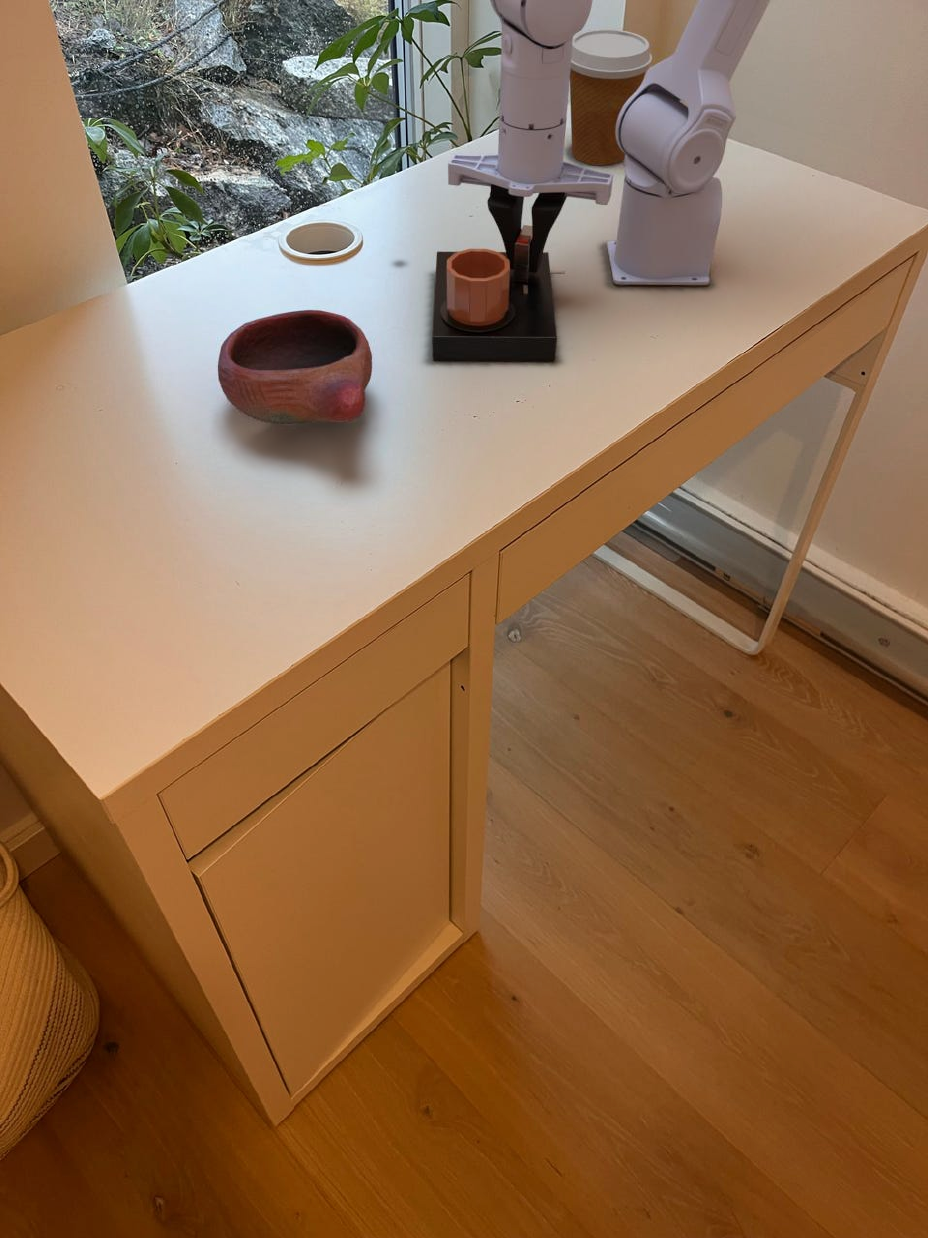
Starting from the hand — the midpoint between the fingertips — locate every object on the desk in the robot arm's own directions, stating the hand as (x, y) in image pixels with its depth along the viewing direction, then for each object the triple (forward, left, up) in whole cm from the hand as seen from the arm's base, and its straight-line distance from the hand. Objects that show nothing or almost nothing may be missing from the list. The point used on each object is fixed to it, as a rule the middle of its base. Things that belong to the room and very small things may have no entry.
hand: (524, 265), depth 93 cm
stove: (+3, +4, -3) cm, 6 cm away
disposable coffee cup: (-10, -32, -3) cm, 34 cm away
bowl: (+18, +19, -3) cm, 26 cm away
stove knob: (0, 0, -1) cm, 1 cm away
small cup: (+4, +7, 0) cm, 8 cm away
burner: (+4, +7, -1) cm, 8 cm away
